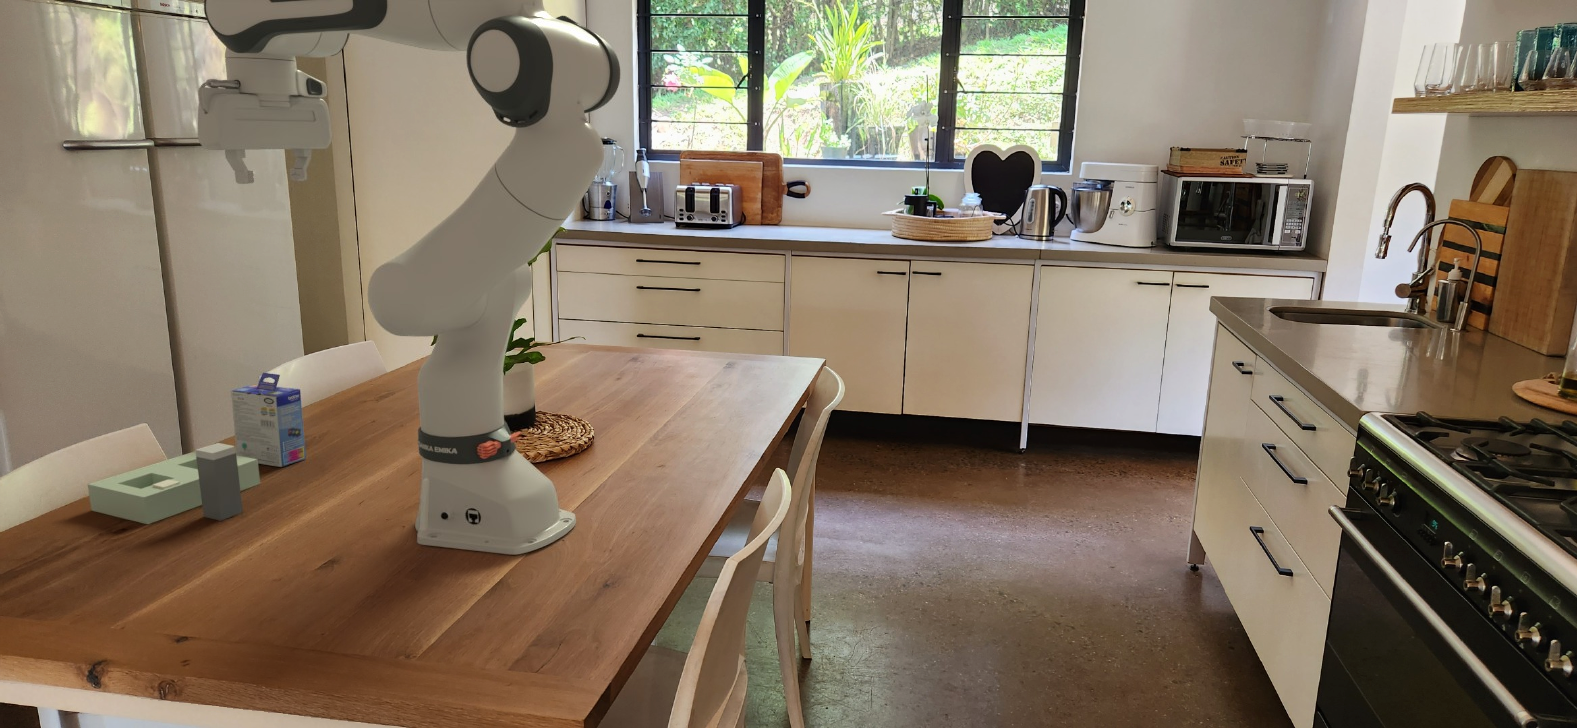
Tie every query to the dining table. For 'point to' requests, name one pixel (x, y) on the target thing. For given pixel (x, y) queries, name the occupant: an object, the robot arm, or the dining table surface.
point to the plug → (219, 481)
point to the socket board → (159, 489)
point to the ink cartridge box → (269, 423)
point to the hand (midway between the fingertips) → (272, 182)
